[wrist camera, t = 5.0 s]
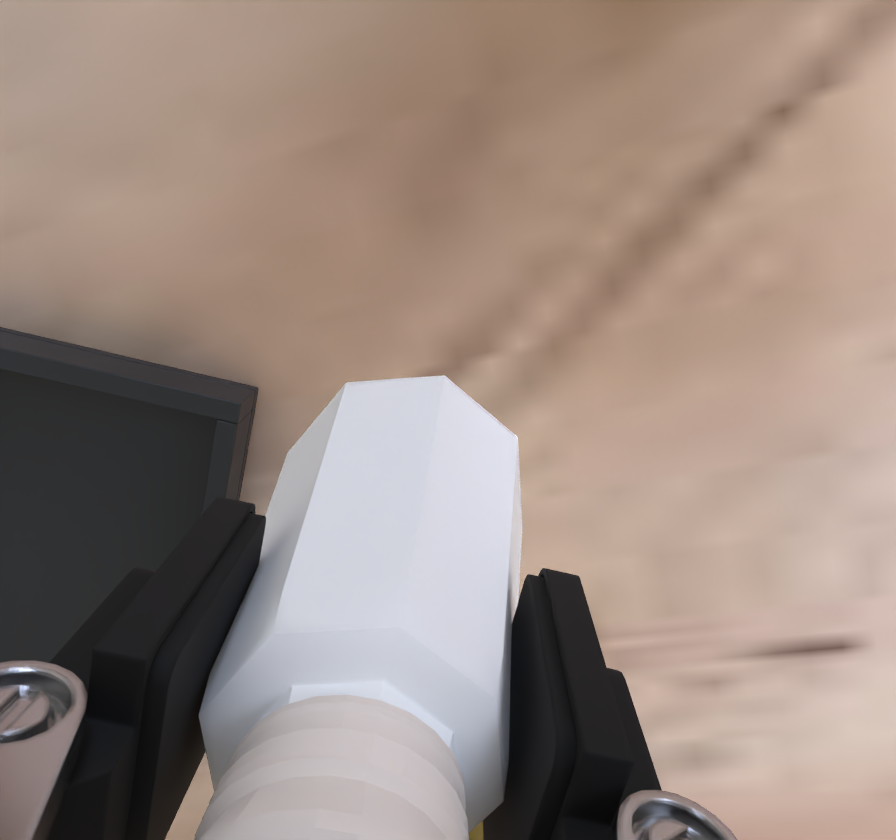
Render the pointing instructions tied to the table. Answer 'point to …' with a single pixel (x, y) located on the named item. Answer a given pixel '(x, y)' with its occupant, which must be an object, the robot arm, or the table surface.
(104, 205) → the table surface
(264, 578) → the salt shaker
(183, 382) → the tray
